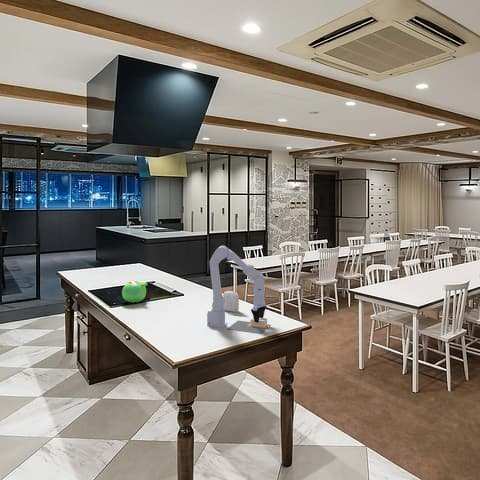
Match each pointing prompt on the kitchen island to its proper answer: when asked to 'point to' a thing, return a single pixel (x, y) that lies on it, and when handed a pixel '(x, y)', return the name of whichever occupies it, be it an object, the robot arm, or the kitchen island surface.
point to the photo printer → (231, 301)
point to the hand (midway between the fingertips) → (258, 320)
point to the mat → (247, 327)
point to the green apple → (134, 291)
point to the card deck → (261, 322)
